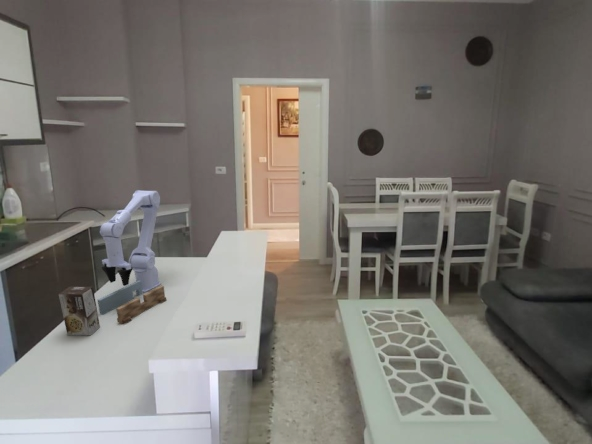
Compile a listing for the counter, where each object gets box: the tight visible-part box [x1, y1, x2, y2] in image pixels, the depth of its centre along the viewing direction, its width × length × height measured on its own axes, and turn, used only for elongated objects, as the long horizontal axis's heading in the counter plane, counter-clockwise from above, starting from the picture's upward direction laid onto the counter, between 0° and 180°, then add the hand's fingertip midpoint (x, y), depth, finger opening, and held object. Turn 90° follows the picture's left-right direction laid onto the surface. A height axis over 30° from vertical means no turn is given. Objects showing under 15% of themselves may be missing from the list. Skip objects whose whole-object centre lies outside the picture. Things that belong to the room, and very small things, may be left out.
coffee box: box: [58, 285, 101, 336], centre depth 137 cm, size 9×6×16 cm
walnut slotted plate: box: [115, 285, 167, 325], centre depth 152 cm, size 22×4×6 cm, turn 153°
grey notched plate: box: [97, 280, 144, 315], centre depth 159 cm, size 20×2×6 cm, turn 153°
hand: (119, 283), depth 157 cm, fingers open, 7 cm apart
